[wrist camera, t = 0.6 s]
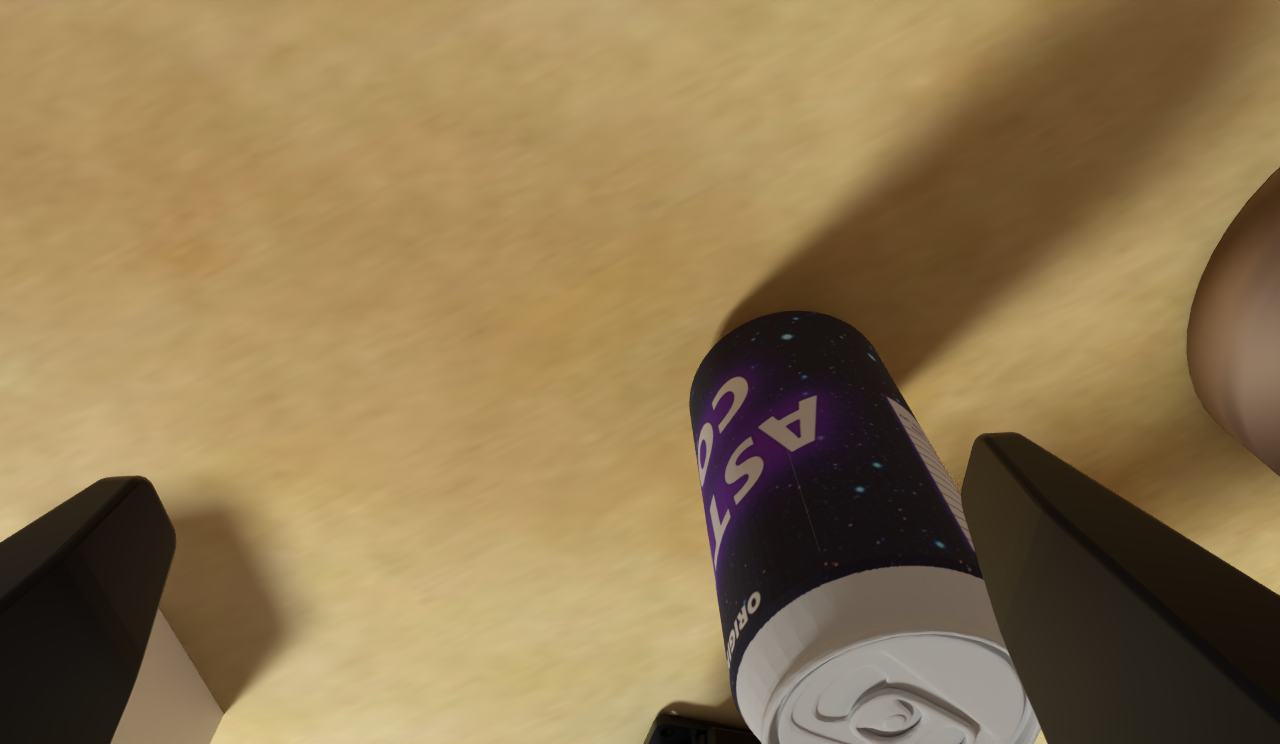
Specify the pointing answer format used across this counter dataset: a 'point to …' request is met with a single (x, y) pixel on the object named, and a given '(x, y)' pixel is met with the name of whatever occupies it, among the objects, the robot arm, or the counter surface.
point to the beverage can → (842, 550)
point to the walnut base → (1242, 328)
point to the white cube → (168, 697)
